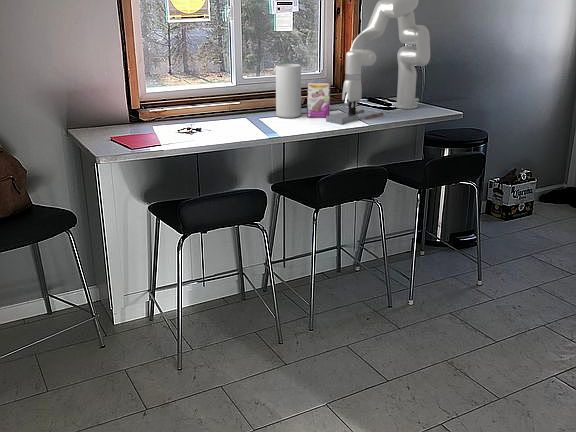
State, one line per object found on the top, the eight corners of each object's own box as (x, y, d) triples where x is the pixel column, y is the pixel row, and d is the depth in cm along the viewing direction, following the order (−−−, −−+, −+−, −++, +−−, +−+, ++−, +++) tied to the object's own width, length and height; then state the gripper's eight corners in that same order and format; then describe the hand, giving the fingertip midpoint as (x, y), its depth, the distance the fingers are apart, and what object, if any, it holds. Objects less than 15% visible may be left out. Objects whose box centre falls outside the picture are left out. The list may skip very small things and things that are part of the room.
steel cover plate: (341, 118, 314) (342, 112, 313) (357, 121, 307) (357, 115, 306) (325, 121, 306) (326, 115, 305) (341, 124, 299) (342, 118, 298)
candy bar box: (306, 117, 314) (307, 84, 309) (307, 115, 319) (307, 83, 313) (329, 118, 313) (329, 84, 308) (329, 116, 318) (330, 83, 312)
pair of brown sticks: (362, 112, 327) (362, 109, 327) (383, 115, 319) (383, 112, 318) (345, 116, 318) (345, 113, 317) (366, 119, 309) (366, 116, 309)
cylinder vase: (300, 113, 325) (300, 63, 317) (301, 118, 313) (301, 66, 305) (276, 113, 325) (275, 64, 317) (276, 118, 313) (275, 66, 305)
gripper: (356, 75, 312) (355, 112, 319) (337, 78, 302) (336, 116, 309) (368, 76, 308) (367, 114, 314) (349, 79, 297) (348, 118, 304)
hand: (352, 115), depth 311 cm, fingers closed
